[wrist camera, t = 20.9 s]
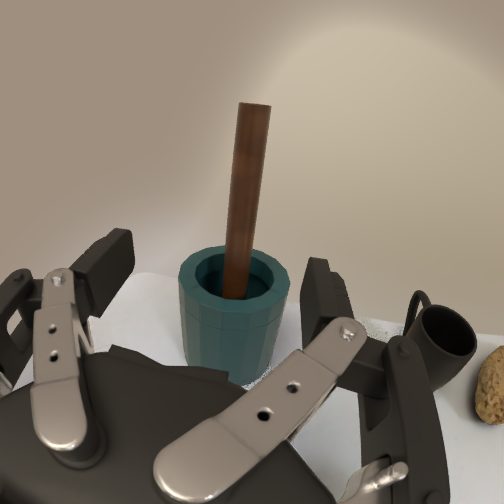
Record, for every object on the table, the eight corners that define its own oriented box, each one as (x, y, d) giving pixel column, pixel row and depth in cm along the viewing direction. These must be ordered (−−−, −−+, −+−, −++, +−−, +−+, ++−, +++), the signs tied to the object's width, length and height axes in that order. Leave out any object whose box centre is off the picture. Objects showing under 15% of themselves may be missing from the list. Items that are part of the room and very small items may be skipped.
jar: (169, 366, 27) (157, 287, 21) (207, 312, 35) (209, 237, 29) (254, 399, 25) (273, 327, 19) (279, 336, 33) (298, 261, 27)
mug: (415, 338, 33) (446, 286, 28) (440, 406, 23) (488, 355, 18) (368, 336, 33) (397, 280, 28) (388, 413, 23) (435, 361, 18)
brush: (201, 354, 28) (209, 100, 15) (217, 327, 31) (235, 101, 19) (241, 369, 27) (281, 107, 14) (255, 339, 30) (294, 109, 18)
